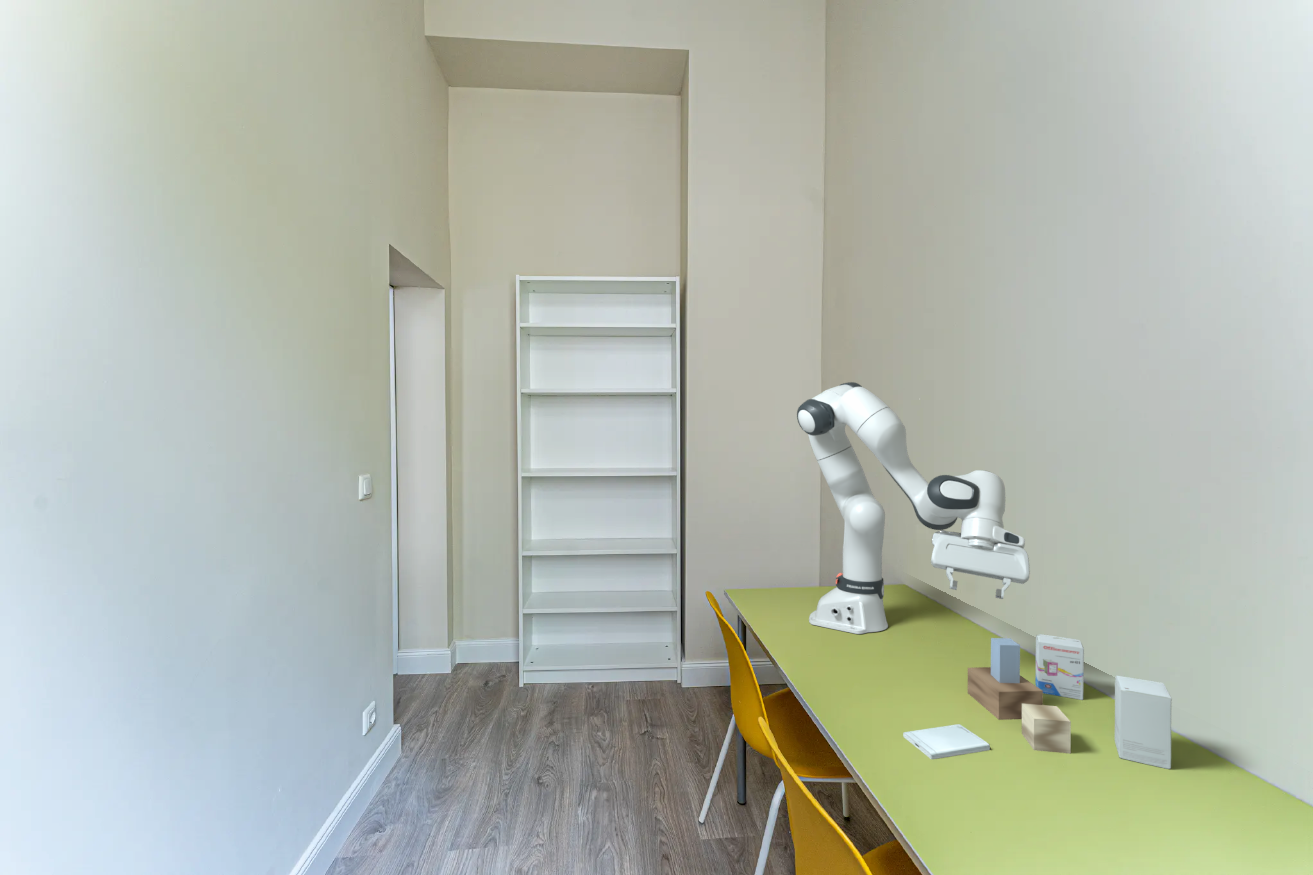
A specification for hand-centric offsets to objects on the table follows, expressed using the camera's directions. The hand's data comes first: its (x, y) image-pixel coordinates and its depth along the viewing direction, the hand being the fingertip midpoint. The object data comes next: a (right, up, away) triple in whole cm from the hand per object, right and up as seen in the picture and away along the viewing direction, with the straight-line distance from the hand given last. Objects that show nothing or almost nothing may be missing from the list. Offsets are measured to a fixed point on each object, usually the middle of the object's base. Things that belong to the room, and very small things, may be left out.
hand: (975, 593), depth 139 cm
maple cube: (0, -22, -25) cm, 33 cm away
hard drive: (-18, -23, -24) cm, 38 cm away
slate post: (+1, -16, -10) cm, 18 cm away
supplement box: (+15, -22, -29) cm, 39 cm away
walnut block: (+1, -22, -10) cm, 24 cm away
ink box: (+16, -21, -4) cm, 27 cm away
